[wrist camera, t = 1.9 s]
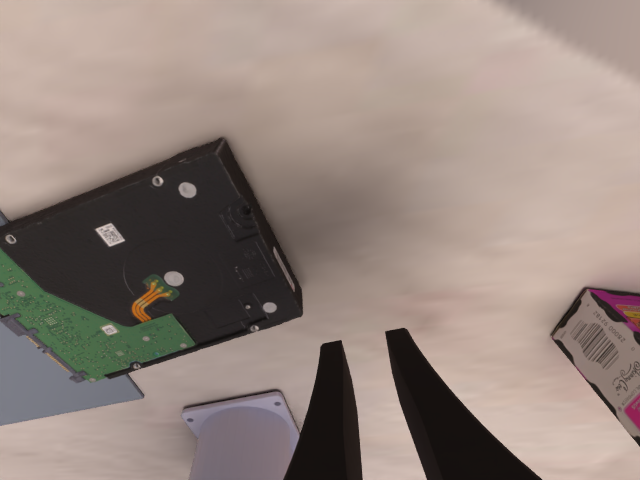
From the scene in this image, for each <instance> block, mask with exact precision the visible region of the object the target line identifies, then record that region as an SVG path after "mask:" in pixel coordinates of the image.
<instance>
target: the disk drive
mask: <svg viewBox="0 0 640 480" xmlns="http://www.w3.org/2000/svg"><path fill="white" fill-rule="evenodd" d="M302 315H303V303H302V289H301V287H300V286H299V284H298V281H297V280H296V279H295V276H294V274H293V273H292V270H291V268H290V265H289V263H288V261H287V260H286V257H285V256H284V254H283V252H282V250H281V248H280V246H279V244H278V242H277V240H276V238H275V236H274V234H273V232H272V230H271V228H270V226H269V224H268V223H267V221H266V218H265V216H264V214H263V213H262V211H261V209H260V206H259V204H258V202H257V200H256V198H255V197H254V194H253V192H252V190H251V189H250V187H249V185H248V183H247V181H246V179H245V177H244V175H243V173H242V172H241V171H240V168H239V167H238V165H237V163H236V161H235V159H234V156H233V154H232V152H231V150H230V148H229V146H228V144H227V142H226V140H224V139H223V138H220V139H218V140H217V141H215V142H211V143H210V144H206V145H203V146H201V147H198V148H194V149H191V150H188V151H186V152H183V153H180V154H178V155H176V156H174V157H172V158H171V159H168V160H166V161H164V162H161V163H159V164H156V165H154V166H151V167H148V168H146V169H144V170H140V171H138V172H136V173H134V174H131V175H129V176H126V177H123V178H121V179H119V180H116V181H114V182H112V183H109V184H106V185H104V186H101V187H99V188H97V189H94V190H92V191H90V192H88V193H85V194H82V195H80V196H77V197H74V198H72V199H69V200H66V201H64V202H61V203H59V204H57V205H54V206H52V207H49V208H47V209H44V210H41V211H39V212H36V213H34V214H32V215H29V216H27V217H24V218H21V219H17V220H15V221H11V222H9V223H7V224H5V225H2V226H0V317H1V318H0V322H1V323H3V325H4V326H6V327H7V328H9V329H10V330H11V331H12V332H13V333H15V334H16V335H17V336H18V337H19V336H22V335H26V338H27V339H28V340H30V341H31V342H32V343H34V344H35V345H36V346H37V349H40V348H43V349H44V350H43V351H42V353H44V354H46V355H48V356H49V357H50V358H51V359H52V360H54V361H55V362H56V363H57V364H58V365H60V366H61V367H62V368H63V369H64V370H65V371H67V372H71V373H72V374H73V376H71V377H70V378H69V379H70V380H71V381H74V382H75V383H79V382H82V381H84V380H88V381H89V382H90V383H92V382H96V381H99V380H102V379H105V378H107V379H112V378H115V377H119V376H122V375H125V374H127V373H130V372H132V371H135V370H138V369H141V368H145V367H148V366H151V365H154V364H158V363H161V362H164V361H167V360H170V359H173V358H176V357H178V356H182V355H186V354H188V353H192V352H196V351H197V350H200V349H203V348H207V347H210V346H213V345H216V344H220V343H223V342H225V341H229V340H231V339H234V338H238V337H241V336H244V335H247V334H250V333H254V332H256V331H260V330H264V329H268V328H271V327H274V326H276V325H280V324H282V323H284V322H287V321H290V320H292V319H295V318H298V317H301V316H302Z"/></svg>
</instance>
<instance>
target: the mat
mask: <svg viewBox="0 0 640 480" xmlns="http://www.w3.org/2000/svg"><path fill="white" fill-rule="evenodd" d="M7 223H9V222H8V220H7V219H6V218H5V216H4V215H3V214H2V213H1V211H0V226H2V225H5V224H7ZM0 318H1V317H0ZM43 350H44V349H43V348H40V349H37V346H36V345H35V344H34V343H32V342H31V341H30V340H28V339H27V338H26V335H22V336H19V337H18V336H17V335H16V334H15V333H13V332H12V331H11V330H10V329H9V328H7V327H6V326H4V325H3V323H1V322H0V426H2V425H7V424H12V423H17V422H22V421H28V420H33V419H38V418H43V417H48V416H54V415H59V414H64V413H69V412H74V411H80V410H85V409H90V408H95V407H100V406H106V405H111V404H116V403H121V402H126V401H132V400H137V399H142V398H144V395H143V393H142V392H141V391H140V390H139V388H138V387H137V386H136V385H135V383H134V382H133V381H132V379H131V378H130V377H129V376H128V374H125V375H122V376H119V377H115V378H112V379H107V378H105V379H102V380H99V381H96V382H92V383H90V382H89V381H88V380H84V381H82V382H79V383H75V382H74V381H71V380H70V379H69V378H70V377H71V376H73V374H72V373H71V372H67V371H65V370H64V369H63V368H62V367H61V366H60V365H58V364H57V363H56V362H55V361H54V360H52V359H51V358H50V357H49V356H48V355H46V354H44V353H42V351H43Z"/></svg>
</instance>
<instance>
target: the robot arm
mask: <svg viewBox="0 0 640 480" xmlns="http://www.w3.org/2000/svg"><path fill="white" fill-rule="evenodd" d="M385 334H386V340H387V346H388V351H389V357H390V363H391V369H392V374H393V378H394V382H395V386H396V390H397V394H398V397H399V401H400V405H401V407H402V410H403V413H404V416H405V419H406V422H407V424H408V427H409V430H410V433H411V436H412V438H413V441H414V444H415V447H416V450H417V452H418V455H419V458H420V461H421V464H422V466H423V469H424V472H425V475H426V478H427V480H542V479H541V478H540V477H539V476H538V475H536V474H535V473H534V472H533V471H532V470H531V469H529V468H528V467H527V466H526V465H525V464H524V463H523V462H521V461H520V460H519V459H518V458H517V457H516V456H515V455H514V454H512V453H511V452H510V451H509V450H508V449H507V448H506V447H505V446H504V445H503V444H502V443H501V442H500V441H499V440H498V439H497V438H495V437H494V436H493V435H492V434H491V433H490V432H489V431H488V430H487V429H486V428H485V427H484V426H483V425H482V424H481V423H480V422H479V420H478V419H477V418H476V417H475V416H474V415H473V414H472V413H471V412H470V411H469V410H468V409H467V408H466V407H465V406H464V404H463V403H462V402H461V401H460V400H459V399H458V398H457V397H456V396H455V394H454V393H453V392H452V391H451V390H450V389H449V387H448V386H447V385H446V384H445V382H444V381H443V380H442V379H441V378H440V376H439V375H438V374H437V373H436V371H435V370H434V369H433V367H432V366H431V365H430V364H429V362H428V361H427V359H426V358H425V357H424V355H423V354H422V352H421V351H420V350H419V348H418V347H417V345H416V344H415V342H414V340H413V339H412V337H411V335H410V334H409V332H408V330H407V329H405V328H400V329H395V330H390V331H385ZM181 417H182V419H183V420H184V421H185V423H186V424H187V425H188V427H189V428H190V430H191V431H192V432H193V434H194V435H195V436H196V438H197V439H198V442H197V447H196V451H195V455H194V459H193V463H192V467H191V472H190V476H189V480H363V478H362V465H361V452H360V439H359V427H358V414H357V407H356V401H355V395H354V389H353V384H352V378H351V375H350V371H349V367H348V363H347V360H346V356H345V352H344V348H343V345H342V341H341V340H339V341H334V342H329V343H324V344H322V346H321V347H320V357H319V364H318V370H317V375H316V380H315V384H314V388H313V392H312V396H311V400H310V404H309V408H308V411H307V415H306V418H305V421H304V424H303V427H302V430H301V434H299V431H298V429H297V427H296V424H295V422H294V420H293V418H292V415H291V413H290V411H289V409H288V406H287V404H286V402H285V400H284V397H283V395H282V394H281V393H280V392H270V393H265V394H260V395H254V396H249V397H244V398H238V399H233V400H228V401H223V402H217V403H212V404H207V405H201V406H196V407H191V408H186V409H184V410H182V414H181Z"/></svg>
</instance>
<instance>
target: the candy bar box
mask: <svg viewBox="0 0 640 480" xmlns="http://www.w3.org/2000/svg"><path fill="white" fill-rule="evenodd" d="M551 338H552V339H553V340H554V342H555V343H556V344H557V345H558V347H559V348H560V349H561V350H562V351H563V353H564V354H565V355H566V356H567V358H568V359H569V360H570V361H571V362H572V364H573V365H574V366H575V367H576V368H577V370H578V371H579V372H580V373H581V375H582V376H583V377H584V378H585V380H586V381H587V382H588V383H589V384H590V386H591V387H592V388H593V390H594V391H595V392H596V393H597V394H598V396H599V397H600V398H601V399H602V400H603V402H604V403H605V404H606V405H607V407H608V408H609V409H610V410H611V412H612V413H613V414H614V415H615V416H616V418H617V419H618V420H619V422H620V423H621V424H622V425H623V427H624V428H625V429H626V431H627V432H628V433H629V434H630V435H631V437H632V438H633V439H634V440H635V441H636V442H637V444H638V445H639V446H640V295H637V294H629V293H620V292H611V291H602V290H594V289H586V290H585V291H584V292H583V293H582V294H581V296H580V297H579V299H578V300H577V301H576V303H575V304H574V306H573V307H572V308H571V310H570V311H569V312H568V314H567V315H566V316H565V317H564V319H563V320H562V321H561V323H560V324H559V325H558V327H557V328H556V330H555V332H554V333H553V335H552V337H551Z"/></svg>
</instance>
